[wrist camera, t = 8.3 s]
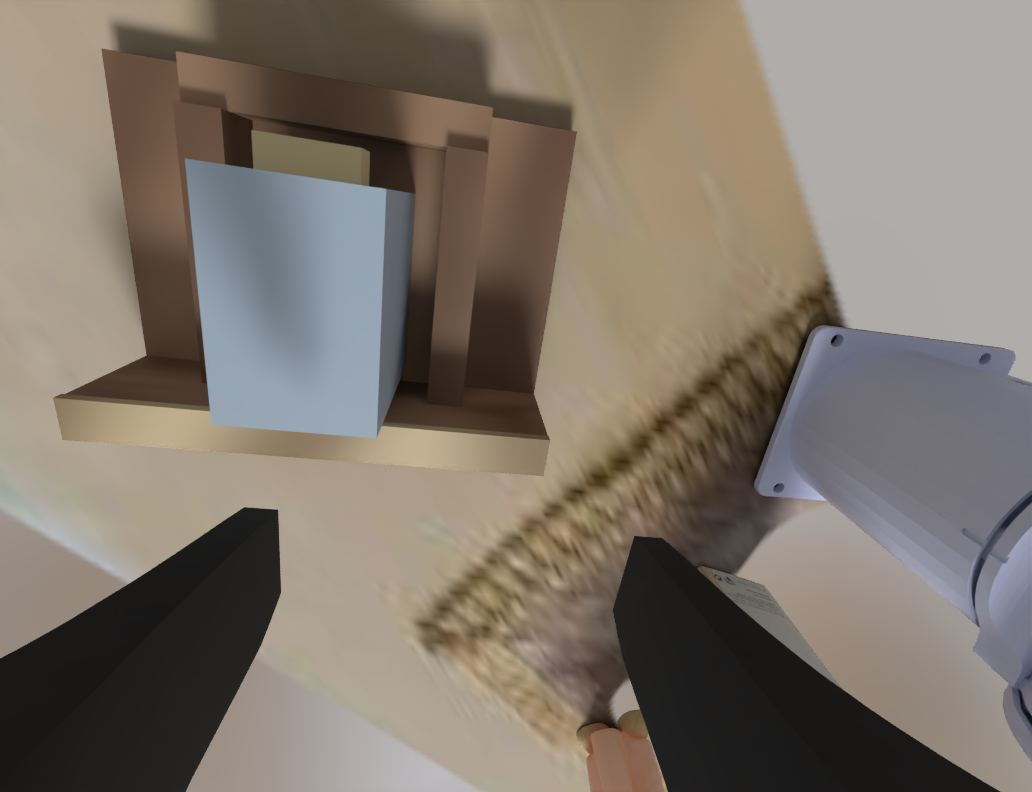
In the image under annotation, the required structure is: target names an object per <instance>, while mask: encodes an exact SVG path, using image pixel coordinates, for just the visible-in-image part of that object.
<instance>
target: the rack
mask: <svg viewBox="0 0 1032 792" xmlns="http://www.w3.org/2000/svg"><path fill="white" fill-rule="evenodd" d="M102 55H103V62H104V69H105V76H106V82H107V89H108V96H109V103H110V110H111V116H112V123H113V130H114V137H115V144H116V150H117V157H118V164H119V171H120V178H121V184H122V191H123V198H124V205H125V212H126V218H127V225H128V232H129V239H130V245H131V252H132V259H133V266H134V273H135V279H136V286H137V293H138V300H139V307H140V313H141V320H142V327H143V334H144V341H145V347H146V354H147V356H145V357H143V358H141V359H139V360H136V361H134V362H132V363H130V364H128V365H126V366H124V367H122V368H119V369H117V370H115V371H113V372H111V373H109V374H107V375H105V376H102V377H100V378H98V379H96V380H94V381H92V382H90V383H88V384H85V385H83V386H81V387H79V388H77V389H75V390H73V391H71V392H69V393H66V394H60V395H58V396H56V397H54V398H53V399H54V404H55V408H56V413H57V417H58V421H59V426H60V430H61V434H62V439H63V440H71V441H84V442H97V443H111V444H124V445H137V446H150V447H164V448H177V449H190V450H204V451H217V452H230V453H243V454H257V455H270V456H283V457H296V458H310V459H323V460H336V461H350V462H363V463H376V464H389V465H403V466H416V467H429V468H442V469H456V470H469V471H482V472H496V473H509V474H522V475H535V476H543V475H544V470H545V465H546V459H547V454H548V448H549V443H550V439H549V436H548V435H547V432H546V429H545V426H544V423H543V420H542V417H541V414H540V411H539V408H538V405H537V402H536V399H535V396H534V389H535V383H536V377H537V371H538V365H539V359H540V353H541V346H542V340H543V334H544V328H545V322H546V316H547V310H548V304H549V298H550V292H551V286H552V279H553V273H554V267H555V261H556V255H557V249H558V243H559V237H560V231H561V225H562V219H563V212H564V206H565V200H566V194H567V188H568V182H569V176H570V170H571V164H572V158H573V152H574V145H575V139H576V133H577V132H575V131H569V130H564V129H558V128H552V127H547V126H541V125H535V124H529V123H524V122H518V121H512V120H507V119H501V118H495V117H492V115H493V107H488V106H482V105H477V104H471V103H465V102H460V101H454V100H448V99H443V98H437V97H432V96H426V95H420V94H415V93H409V92H403V91H398V90H392V89H387V88H381V87H375V86H370V85H364V84H358V83H353V82H347V81H342V80H336V79H330V78H325V77H319V76H313V75H308V74H302V73H296V72H291V71H285V70H280V69H274V68H268V67H263V66H257V65H251V64H246V63H240V62H235V61H229V60H223V59H218V58H212V57H206V56H201V55H195V54H190V53H184V52H178V51H176V61H177V62H175V61H169V60H164V59H158V58H152V57H146V56H141V55H135V54H129V53H124V52H118V51H112V50H106V49H102ZM251 130H255V131H261V132H267V133H273V134H280V135H286V136H292V137H298V138H304V139H310V140H317V141H323V142H329V143H335V144H341V145H348V146H354V147H360V148H363V149H365V150H367V151H369V152H370V168H369V186H370V187H377V188H383V189H390V190H396V191H402V192H408V193H414V194H416V201H415V218H414V234H413V251H412V268H411V285H410V302H409V318H408V335H407V352H406V366H405V369H404V371H403V374H402V376H401V379H400V381H399V384H398V386H397V389H396V391H395V394H394V396H393V399H392V401H391V404H390V406H389V409H388V411H387V414H386V416H385V419H384V421H383V424H382V426H381V429H380V431H379V434H378V436H377V438H365V437H353V436H341V435H329V434H316V433H304V432H292V431H280V430H268V429H256V428H244V427H232V426H220V425H211V416H210V406H209V396H208V386H207V376H206V366H205V356H204V346H203V336H202V326H201V316H200V306H199V296H198V286H197V276H196V266H195V256H194V246H193V236H192V226H191V216H190V206H189V196H188V186H187V176H186V166H185V159H192V160H198V161H205V162H212V163H218V164H225V165H231V166H238V167H245V168H251V169H253V152H252V133H251Z"/></svg>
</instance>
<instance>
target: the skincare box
mask: <svg viewBox="0 0 1032 792" xmlns="http://www.w3.org/2000/svg"><path fill="white" fill-rule="evenodd" d="M698 570H699V571H700V572H701V573H702V574H703V575H704V576H705V577H707V578H708V579H709V580H710V581H711V582H712V583H713V584H714V585H715V586H716V587H718V588H719V589H720V590H721V591H722V592H723V593H724V594H725V595H726V596H728V597H729V598H730V599H731V600H732V601H733V602H734V603H735V604H737V605H738V606H739V607H740V608H741V609H742V610H743V611H745V612H746V613H747V614H748V615H749V616H750V617H751V618H753V619H754V620H755V621H756V622H757V623H759V624H760V625H761V626H762V627H763V628H764V629H766V630H767V631H768V632H769V633H770V634H772V635H773V636H774V637H775V638H777V639H778V640H779V641H780V642H781V643H783V644H784V645H785V646H786V647H788V648H789V649H790V650H791V651H793V652H794V653H795V654H796V655H797V656H799V657H800V658H801V659H802V660H804V661H805V662H806V663H808V664H809V665H810V666H812V667H813V668H814V669H815V670H817V671H818V672H819V673H821V674H822V675H823V676H825V677H826V678H827V679H829V680H830V681H832V682H833V683H834V684H836V685H837V686H839V687H840V685H839V684H838V683H837V681H836V680H835V679H834V677H833V676H832V675H831V673H830V672H829V671H828V669H827V668H826V667H825V666H824V664H823V663H822V662H821V660H820V659H819V658H818V656H817V655H816V654H815V653H814V651H813V650H812V649H811V647H810V646H809V644H808V643H807V642H806V640H805V639H804V638H803V636H802V635H801V634H800V632H799V631H798V630H797V628H796V627H795V626H794V624H793V623H792V622H791V620H790V619H789V618H788V616H787V615H786V614H785V613H784V611H783V610H782V608H781V607H780V606H779V604H778V603H777V602H776V600H775V599H774V598H773V597H772V595H771V594H770V592H769V591H768V590H767V589H766V587H765V586H763V585H761V584H758V583H755V582H752V581H749V580H746V579H743V578H740V577H737V576H734V575H731V574H728V573H725V572H721V571H718V570H715V569H711V568H708V567H704V566H700V567H699V568H698ZM840 688H841V687H840ZM841 689H842V688H841Z"/></svg>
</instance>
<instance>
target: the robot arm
mask: <svg viewBox="0 0 1032 792" xmlns="http://www.w3.org/2000/svg"><path fill="white" fill-rule="evenodd" d="M835 335H837V336H836V340H835V341H834V342H833V343H832V344H831V339H832V338H833V337H834V336H835ZM980 357H981V358H980ZM1014 361H1015V353H1014V352H1013V351H1011V350H1008V349H1004V348H998V347H991V346H983V345H974V344H967V343H960V342H952V341H944V340H936V339H928V338H920V337H913V336H905V335H897V334H889V333H882V332H873V331H866V330H858V329H851V328H843V327H835V326H827V325H820V326H818V327H816V328H815V329H814V330H812V332H811V333H810V335H809V337H808V340H807V343H806V345H805V348H804V351H803V354H802V356H801V359H800V362H799V364H798V367H797V370H796V372H795V375H794V378H793V380H792V383H791V386H790V389H789V391H788V394H787V397H786V399H785V402H784V405H783V407H782V410H781V413H780V415H779V418H778V421H777V424H776V426H775V429H774V432H773V434H772V437H771V440H770V442H769V445H768V448H767V450H766V453H765V456H764V459H763V461H762V464H761V467H760V469H759V472H758V475H757V477H756V480H755V483H754V487H755V490H756V491H757V492H758V493H759V494H761V495H763V496H771V497H784V498H798V499H811V500H825V501H828V502H829V503H831V504H832V505H833V506H834V507H836V508H837V509H838V510H839V511H840V512H841V513H843V514H844V515H845V516H846V517H848V518H849V519H850V520H851V521H852V522H854V523H855V524H856V525H857V526H858V527H859V528H861V529H862V530H863V531H864V532H865V533H867V534H868V535H869V536H870V537H871V538H873V539H874V540H875V541H876V542H877V543H879V544H880V545H881V546H882V547H883V548H885V549H886V550H887V551H888V552H889V553H891V554H892V555H893V556H894V557H896V558H897V559H898V560H899V561H900V562H901V563H903V564H904V565H905V566H906V567H907V568H909V569H910V570H911V571H912V572H914V573H915V574H916V575H917V576H918V577H919V578H921V579H922V580H923V581H924V582H925V583H927V584H928V585H929V586H930V587H931V588H933V589H934V590H935V591H936V592H937V593H939V594H940V595H941V596H942V597H943V598H944V599H946V600H947V601H948V602H949V603H951V604H952V605H953V606H954V607H955V608H957V609H958V610H959V611H960V612H961V613H962V614H964V615H965V616H966V617H967V618H968V619H970V620H971V621H972V622H973V623H974V624H976V625H977V626H978V627H979V628H980V633H979V636H978V639H977V641H976V643H975V645H974V647H973V652H974V653H975V654H976V655H978V656H979V657H980V658H981V659H982V660H983V661H984V662H985V663H987V664H988V665H989V666H990V667H991V668H992V669H993V670H994V671H995V672H997V673H998V674H999V675H1000V676H1001V677H1002V678H1003V679H1004V680H1006V681H1007V682H1008V683H1009V684H1008V686H1007V688H1006V689H1005V691H1004V696H1003V708H1004V713H1005V717H1006V720H1007V722H1008V725H1009V726H1010V729H1011V731H1012V733H1013V735H1014V737H1015V738H1016V740H1017V741H1018V743H1019V744H1020V746H1021V747H1022V749H1023V751H1024V752H1025V754H1026V755H1027V757H1028V758H1029V759H1030V761H1031V762H1032V383H1031V382H1028V381H1024V380H1022V379H1018V378H1015V377H1012V376H1009V375H1008V373H1009V371H1010V369H1011V367H1012V365H1013V364H1014ZM778 483H779V485H778V486H777V487H775V488H774V486H775V485H776V484H778ZM280 594H281V580H280V552H279V524H278V510H273V509H259V508H246V507H245V508H243V509H241V510H240V511H238V512H237V513H235V514H234V515H232V516H230V517H229V518H227V519H226V520H225V521H223V522H222V523H220V524H219V525H217V526H216V527H214V528H213V529H211V530H210V531H208V532H207V533H205V534H204V535H202V536H201V537H200V538H198V539H197V540H195V541H194V542H192V543H191V544H189V545H188V546H186V547H185V548H183V549H182V550H180V551H179V552H177V553H176V554H174V555H173V556H171V557H170V558H168V559H167V560H165V561H164V562H162V563H161V564H159V565H158V566H156V567H155V568H153V569H152V570H150V571H148V572H147V573H145V574H144V575H142V576H141V577H139V578H138V579H136V580H135V581H133V582H131V583H130V584H128V585H126V586H125V587H123V588H121V589H120V590H118V591H117V592H115V593H113V594H112V595H110V596H108V597H107V598H105V599H103V600H102V601H100V602H99V603H97V604H95V605H94V606H92V607H90V608H89V609H87V610H85V611H84V612H82V613H80V614H79V615H77V616H76V617H74V618H72V619H71V620H69V621H67V622H66V623H64V624H62V625H60V626H59V627H57V628H55V629H54V630H52V631H50V632H48V633H46V634H45V635H43V636H41V637H39V638H38V639H36V640H34V641H32V642H30V643H28V644H27V645H25V646H23V647H21V648H19V649H18V650H16V651H14V652H12V653H10V654H8V655H6V656H4V657H3V658H0V792H186V790H187V787H188V785H189V783H190V781H191V779H192V776H193V775H194V773H195V771H196V769H197V768H198V765H199V764H200V762H201V760H202V758H203V756H204V754H205V752H206V750H207V748H208V746H209V744H210V742H211V740H212V739H213V737H214V735H215V733H216V731H217V729H218V727H219V725H220V723H221V722H222V720H223V718H224V715H225V714H226V712H227V710H228V708H229V706H230V704H231V702H232V700H233V699H234V697H235V695H236V693H237V691H238V689H239V687H240V685H241V683H242V681H243V679H244V677H245V675H246V673H247V671H248V670H249V667H250V666H251V664H252V662H253V660H254V658H255V656H256V654H257V652H258V650H259V648H260V646H261V644H262V641H263V639H264V636H265V634H266V631H267V628H268V626H269V623H270V621H271V618H272V615H273V613H274V610H275V607H276V605H277V602H278V599H279V596H280ZM613 613H614V618H615V623H616V628H617V633H618V638H619V642H620V647H621V651H622V655H623V660H624V663H625V666H626V669H627V672H628V675H629V678H630V681H631V684H632V687H633V690H634V693H635V696H636V699H637V701H638V704H639V707H640V710H641V713H642V716H643V719H644V722H645V725H646V728H647V731H648V733H649V736H650V739H651V742H652V745H653V748H654V751H655V754H656V757H657V760H658V763H659V765H660V768H661V771H662V774H663V777H664V780H665V783H666V787H667V790H668V792H1000V791H998V790H997V789H995V788H993V787H991V786H990V785H988V784H986V783H984V782H983V781H981V780H980V779H978V778H976V777H975V776H973V775H971V774H970V773H968V772H966V771H965V770H963V769H961V768H960V767H958V766H957V765H955V764H953V763H952V762H950V761H948V760H947V759H945V758H944V757H942V756H940V755H939V754H937V753H936V752H934V751H933V750H931V749H930V748H928V747H926V746H925V745H923V744H922V743H920V742H919V741H917V740H916V739H914V738H913V737H911V736H910V735H908V734H906V733H905V732H903V731H902V730H900V729H899V728H897V727H896V726H894V725H893V724H891V723H890V722H888V721H887V720H885V719H884V718H882V717H881V716H879V715H878V714H876V713H875V712H873V711H872V710H870V709H869V708H868V707H866V706H865V705H863V704H862V703H861V702H859V701H858V700H856V699H855V698H854V697H852V696H851V695H850V694H848V693H847V692H845V691H844V690H843V689H841V688H840V687H839V686H837V685H836V684H834V683H833V682H832V681H830V680H829V679H827V678H826V677H825V676H823V675H822V674H821V673H819V672H818V671H817V670H815V669H814V668H813V667H812V666H810V665H809V664H808V663H806V662H805V661H804V660H802V659H801V658H800V657H799V656H797V655H796V654H795V653H794V652H793V651H791V650H790V649H789V648H788V647H786V646H785V645H784V644H783V643H781V642H780V641H779V640H778V639H777V638H775V637H774V636H773V635H772V634H770V633H769V632H768V631H767V630H766V629H764V628H763V627H762V626H761V625H760V624H759V623H757V622H756V621H755V620H754V619H753V618H751V617H750V616H749V615H748V614H747V613H746V612H745V611H743V610H742V609H741V608H740V607H739V606H738V605H737V604H735V603H734V602H733V601H732V600H731V599H730V598H729V597H728V596H726V595H725V594H724V593H723V592H722V591H721V590H720V589H719V588H718V587H716V586H715V585H714V584H713V583H712V582H711V581H710V580H709V579H708V578H707V577H705V576H704V575H703V574H702V573H701V572H700V571H699V570H698V569H697V568H696V567H694V566H693V565H692V564H691V563H690V562H689V561H688V560H687V559H686V558H684V557H683V556H682V555H681V554H680V553H679V552H678V551H677V550H675V549H674V548H673V547H672V546H671V545H670V544H668V543H667V542H666V541H665V540H663V539H662V538H653V537H639V536H634V540H633V543H632V546H631V550H630V553H629V557H628V560H627V564H626V567H625V570H624V574H623V577H622V581H621V584H620V588H619V591H618V594H617V598H616V601H615V605H614V608H613Z"/></svg>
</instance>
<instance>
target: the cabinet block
mask: <svg viewBox="0 0 1032 792" xmlns="http://www.w3.org/2000/svg"><path fill="white" fill-rule="evenodd" d="M251 133H252V152H253V169H251V168H245V167H238V166H231V165H225V164H218V163H212V162H205V161H198V160H192V159H185V166H186V176H187V186H188V196H189V206H190V216H191V226H192V236H193V246H194V256H195V266H196V276H197V286H198V296H199V306H200V316H201V326H202V336H203V346H204V356H205V366H206V376H207V386H208V396H209V406H210V416H211V425H220V426H232V427H244V428H256V429H268V430H280V431H292V432H304V433H316V434H329V435H341V436H353V437H365V438H377V436H378V434H379V431H380V429H381V426H382V424H383V421H384V419H385V416H386V414H387V411H388V409H389V406H390V404H391V401H392V399H393V396H394V394H395V391H396V389H397V386H398V384H399V381H400V379H401V376H402V374H403V371H404V369H405V366H406V352H407V335H408V318H409V302H410V285H411V268H412V251H413V234H414V218H415V201H416V194H414V193H408V192H402V191H396V190H390V189H383V188H377V187H370V186H369V168H370V152H369V151H367V150H365V149H363V148H360V147H354V146H348V145H341V144H335V143H329V142H323V141H317V140H310V139H304V138H298V137H292V136H286V135H280V134H273V133H267V132H261V131H255V130H251Z"/></svg>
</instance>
